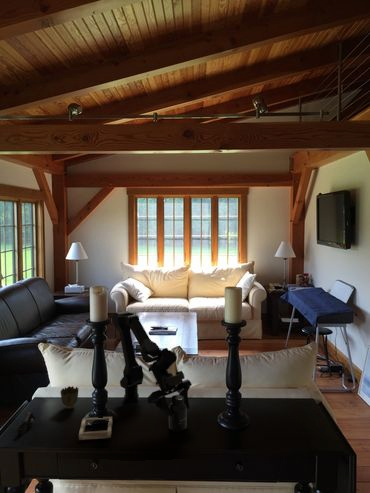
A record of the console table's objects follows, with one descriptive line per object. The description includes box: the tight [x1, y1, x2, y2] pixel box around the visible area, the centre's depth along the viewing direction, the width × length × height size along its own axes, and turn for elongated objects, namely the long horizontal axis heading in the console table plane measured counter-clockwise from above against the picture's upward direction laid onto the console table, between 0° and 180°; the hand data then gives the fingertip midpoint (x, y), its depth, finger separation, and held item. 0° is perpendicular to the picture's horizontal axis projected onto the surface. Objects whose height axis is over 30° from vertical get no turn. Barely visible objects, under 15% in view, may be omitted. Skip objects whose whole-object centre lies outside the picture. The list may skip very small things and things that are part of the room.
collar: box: [78, 416, 113, 441], centre depth 149 cm, size 11×11×2 cm
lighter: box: [17, 411, 36, 436], centre depth 150 cm, size 9×2×6 cm
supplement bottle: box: [168, 394, 188, 433], centre depth 151 cm, size 7×7×12 cm
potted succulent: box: [60, 385, 79, 410], centre depth 167 cm, size 8×7×8 cm
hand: (180, 412), depth 150 cm, fingers open, 8 cm apart
